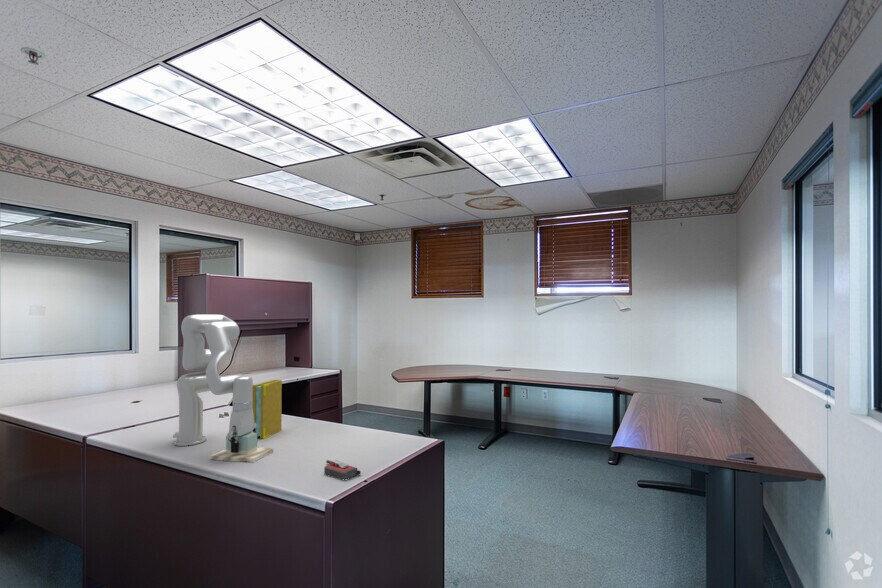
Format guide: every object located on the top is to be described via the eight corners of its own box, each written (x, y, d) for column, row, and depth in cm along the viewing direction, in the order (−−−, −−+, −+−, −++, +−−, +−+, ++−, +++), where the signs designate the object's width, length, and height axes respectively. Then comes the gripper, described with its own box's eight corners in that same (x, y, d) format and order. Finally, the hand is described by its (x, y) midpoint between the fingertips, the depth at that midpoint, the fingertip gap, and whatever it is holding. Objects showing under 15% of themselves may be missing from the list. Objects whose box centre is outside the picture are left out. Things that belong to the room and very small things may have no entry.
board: (209, 459, 167) (209, 455, 168) (232, 449, 180) (232, 445, 180) (253, 462, 163) (253, 458, 164) (273, 451, 176) (273, 448, 176)
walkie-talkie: (365, 474, 150) (328, 464, 161) (365, 462, 150) (328, 452, 162) (346, 482, 143) (310, 471, 154) (346, 469, 143) (310, 458, 154)
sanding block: (226, 453, 170) (226, 436, 170) (236, 448, 176) (236, 432, 176) (247, 454, 168) (247, 437, 168) (257, 450, 174) (257, 433, 174)
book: (263, 439, 195) (264, 385, 196) (251, 438, 196) (251, 385, 198) (284, 429, 212) (284, 379, 213) (272, 428, 213) (272, 379, 214)
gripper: (248, 401, 182) (248, 442, 181) (219, 410, 165) (219, 455, 164) (263, 402, 181) (263, 443, 180) (236, 411, 164) (235, 456, 163)
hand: (242, 448), depth 172 cm, fingers open, 8 cm apart
